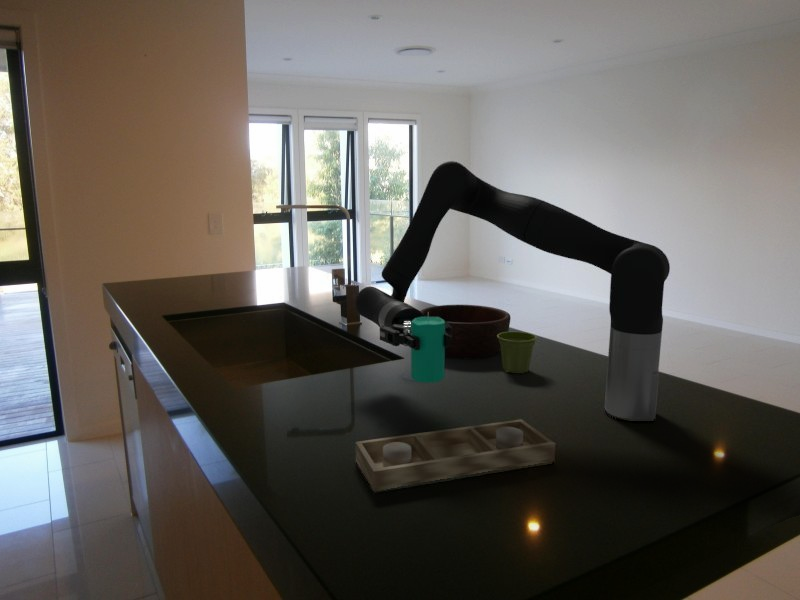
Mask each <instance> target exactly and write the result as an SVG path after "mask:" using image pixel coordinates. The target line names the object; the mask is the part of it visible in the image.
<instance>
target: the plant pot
mask: <svg viewBox="0 0 800 600" xmlns="http://www.w3.org/2000/svg"><path fill="white" fill-rule="evenodd" d="M497 338H498V339H499V343H500V345H501V350H500V352H501V360H502V369H504V370H505V371H508V372H509V373H513V374H514V373H522V374H524V373H523V372H526V373H527V372H529V371H528V370H530V365H531V359H532V354H533V349H534V345H535V341H536V340H537V339H538V336H537V335H536V334H533V333H529V332H526V331H525V332H523V331H508V332H503V333H500V334H498V335H497ZM504 370H503V371H504ZM505 371H504V372H505ZM508 372H507V373H508Z"/></svg>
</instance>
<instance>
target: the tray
mask: <svg viewBox="0 0 800 600" xmlns="http://www.w3.org/2000/svg"><path fill="white" fill-rule="evenodd" d="M354 447H355V463H356V462H357V464H358V465H357V464H356V465H357V467H358V466H359V467H358V469H359V468H360V469H361V471H362V472H361V471H360V472H361V474H362V473H363V474H364V476H365V478H366V479H367V481H368V483H369V484H370V486H371V488H372V490H373V491H374V492H375V491H381V490H386V489H391V488H397V487H401V486H408V485H413V484H417V483H423V482H429V481H435V480H440V479H447V478H454V477H460V476H465V475H471V474H476V473H482V472H488V471H493V470H502V469H508V468H515V467H522V466H528V465H534V464H539V463H547V462H551V461H554V462H555V460H556V459H555V457H556V443H555V442H554V441H552V440H551V439H549V438H548V437H547V436H546V435H545V434H543V433H541V432H540V431H538V430H537V429H536V428H534V427H533V426H531V425H530V424H529V423H527V422H526V421H524V420H523V419H521V418H519V419H515V420H506V421H500V422H491V423H484V424H478V425H477V424H476V425H469V426H461V427H456V428H447V429H440V430H432V431H427V432H425V431H424V432H418V433H411V434H404V435H397V436H389V437H382V438H381V437H380V438H374V439H368V440H367V439H366V440H365V439H364V440H360V441H355V446H354ZM360 469H359V470H360ZM363 474H362V475H363ZM364 476H363V477H364ZM365 478H364V479H365ZM366 479H365V480H366ZM367 481H366V482H367ZM368 483H367V484H368ZM370 486H369V487H370ZM371 488H370V489H371ZM372 490H371V491H372ZM373 491H372V492H373Z"/></svg>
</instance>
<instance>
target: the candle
mask: <svg viewBox="0 0 800 600" xmlns="http://www.w3.org/2000/svg"><path fill="white" fill-rule="evenodd" d="M411 333H412V335H414V336H417V337H419V339H420V349H419V350H414V349H413V348H410V349H411V350H410V378H411V380H413V381H415V382H418V383H424V384H427V383H428V384H429V383H438V382H442V381H443V380H444V379H445V364H446V363H445V362H446V361H445V358H446V357H445V347H444V334H445V321H444V320H443V319H441V318H439V317H429V312H428V317H418V318H415V319H414V320H413V321H412V322H411Z"/></svg>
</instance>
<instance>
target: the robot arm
mask: <svg viewBox="0 0 800 600" xmlns="http://www.w3.org/2000/svg"><path fill="white" fill-rule="evenodd" d="M450 210H453V211H456V212H460V213H462V214H467V215H470V216H472V217H476V218H478V219H481V220H484V221H486V222H487V223H490V224H492V225H493V226H495V227H497V228H498V229H500V230H501V231H503V232H505V233H506V234H508V235H510V236H511V237H514V238H515V239H517V240H519V241H521V242H523V243H525V244H527V245H529V246H531V247H533V248H536V249H538V250H541V251H543V252H545V253H549V254H552V255H554V256H557V257H562V258H567V259H571V260H575V261H580V262H582V263H585V264H586V263H587V264H589V265H592V266H594V267H596V268H598V269H601V270H603V271H605V273H608V274H610V283H609V285H610V287H609V289H610V290H609V307H608V309H609V316H610V329H609V340H608V342H609V343H608V352H607V353H608V354H607V367H606V368H607V370H606V384H605V397H604V408H605V410H606V411H607V412H608V413H610V414H612V415H614V416H617V417H621V418H628V419H647V418H649V419H655V420H656V413H657V405H658V404H657V403H658V393H659V381H660V380H659V379H660V373H659V370H660V369H659V368H660V359H661V358H660V357H661V347H662V335H663V326H664V316H663V303H664V302H663V301H664V300H663V299H664V288H665V281H666V280H667V279H668V277H669V274H670V269H671V268H670V260H669V258H668V256H667V255H666V253H665V252H664V251H663V250H662V249H660V248H659V247H657V246H656V245H654V244H653V245H652V244H650V243H646V242H643V241H639V240H636V239H632V238H629V237H626V236H623V235H620V234H617V233H614V232H611V231H608V230H606V229H604V228H602V227H599V226H598V225H596V224H594V223H592V222H590V221H588V220H586V219H585V218H582V217H580V216H578V215H576V214H574V213H573V212H570V211H568V210H566V209H564V208H562V207H559V206H557V205H555V204H552V203H549V202H548V201H545V200H543V199H539V198H537V197H533V196H529V195H524V194H519V193H514V192H508V191H505V190H502V189H500V188H498V187H496V186H494V185H492V184H490V183H488V182H487V181H484V180H483V179H481V178H480V177H478V176H477V175H475V174H474V173H472V171H470V170H469V169H468V168H467V167H466V166H464V165H463V164H461V163H460V162H458V161H454V160H450V161H444V162H442V163H440V164H439V165H438V166H437V167H436V168H435V169H434V171H433V172H432V174H431V176H430V178H429V180H428V182H427V184H426V186H425V189H424V191H423V193H422V196H421V198H420V201H419V203H418V206H417V208H416V210H415V212H414V214H413V216H412V218H411V221H410V222H409V225H408V227H407V229H406V231H405V233H404V234H403V236H402V238H401V240H400V242H399V243H398V245H397V247H396V248H395V249H394V251H393V253H392V254H391V256H390V257H389V259H388V261H387V262H386V264H385V266H384V267H383V269H382V271H381V277H382V279H383V281H385V282H386V283H387V284H389V285H390V286H391V287H392V293H391V295H390V294H389V293H387V292H384V291H383V290H381V289H379V288H378V287H376V286H369V285H368V286H366V287H364V288H362V289H360V291H359V292H358V293H357V295H356V297H355V301H354V306H355V310H356V312H357V314H358V315H360V316H361V317H363V318H365V319H367V320H368V321H371V322H372V323H374V324H376V325H377V326H378V327H379V341H382V342H384V343H386V344H389V345H391V346H393V347H399V346H400V345H401V346H403V347H409V348H410V349H411V348H413V349H414V350H419V349H420V339H419V337H417V336H414V335H412V333H411V322H412V321H413V320H414V319H415V318H418V317H425V316H424V315H423V313H422V312H420V311H421V310H420V309H417V308H415V307H414V306H412V305H410V304H408V303H407V302H405V300H406V297H407V295H408V291H409V290H410V287H411V284H412V283H413V282H414V280H415V278H416V277H417V275H418V274H419V272H420V270H421V269H422V267H423V266H424V264H425V262H426V261H427V257H428V255H429V252H430V250H431V246H432V243H433V240H434V237H435V234H436V232H437V229H438V228H439V225H440V224H441V221H442V220H443V219H444V217H445V216H446V214H447V213H448V212H449V211H450ZM451 341H452V327H451V325H450V324H449V323H448V322H447V321H445V334H444V347H450V344H451Z"/></svg>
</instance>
